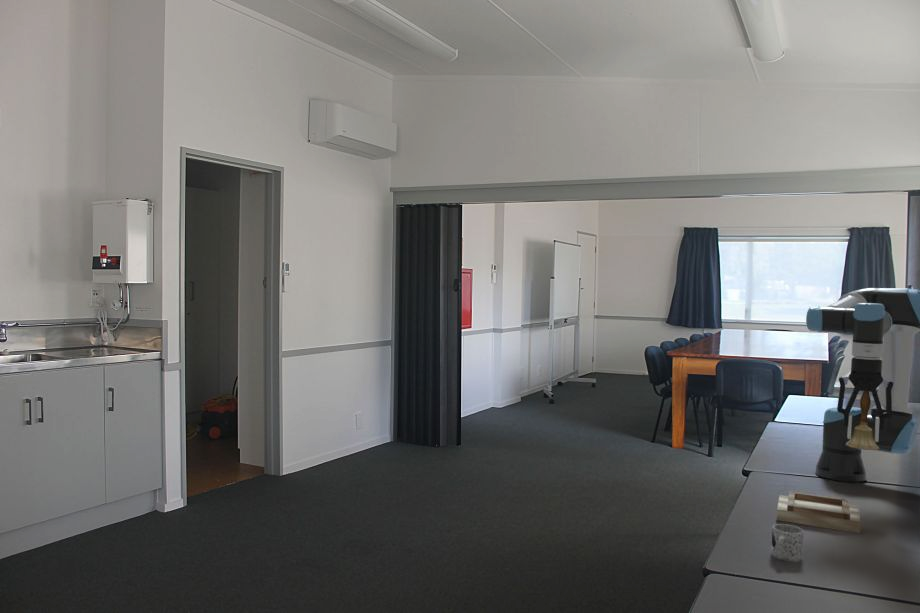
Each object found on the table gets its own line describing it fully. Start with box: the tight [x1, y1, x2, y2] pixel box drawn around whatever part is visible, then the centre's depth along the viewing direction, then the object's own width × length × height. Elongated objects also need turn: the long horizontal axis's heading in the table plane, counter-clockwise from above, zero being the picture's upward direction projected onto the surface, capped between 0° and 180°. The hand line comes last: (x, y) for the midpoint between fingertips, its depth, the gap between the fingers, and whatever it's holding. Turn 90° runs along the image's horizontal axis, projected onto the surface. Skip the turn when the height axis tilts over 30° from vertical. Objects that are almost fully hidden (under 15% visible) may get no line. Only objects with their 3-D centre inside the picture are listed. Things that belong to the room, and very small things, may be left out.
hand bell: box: [846, 390, 879, 451], centre depth 207 cm, size 8×8×16 cm
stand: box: [776, 490, 862, 534], centre depth 202 cm, size 15×20×4 cm
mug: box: [770, 523, 804, 563], centre depth 172 cm, size 10×7×7 cm
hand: (862, 439), depth 207 cm, fingers closed on hand bell, 6 cm apart
